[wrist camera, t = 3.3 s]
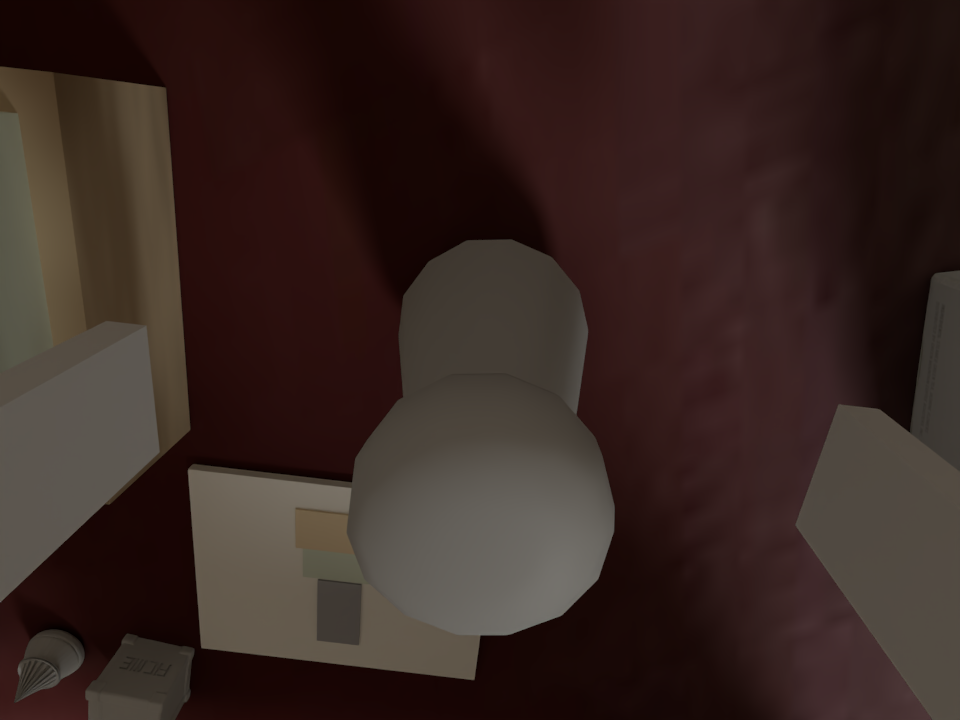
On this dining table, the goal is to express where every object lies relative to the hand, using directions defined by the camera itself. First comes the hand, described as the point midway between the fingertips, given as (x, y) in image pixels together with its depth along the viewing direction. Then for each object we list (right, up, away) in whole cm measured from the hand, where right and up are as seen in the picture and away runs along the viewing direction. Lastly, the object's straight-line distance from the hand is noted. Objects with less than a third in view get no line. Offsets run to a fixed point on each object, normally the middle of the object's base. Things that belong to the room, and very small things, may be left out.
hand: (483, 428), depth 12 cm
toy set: (-19, -11, +16) cm, 27 cm away
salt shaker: (0, +3, +9) cm, 10 cm away
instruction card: (-6, -8, +13) cm, 17 cm away
